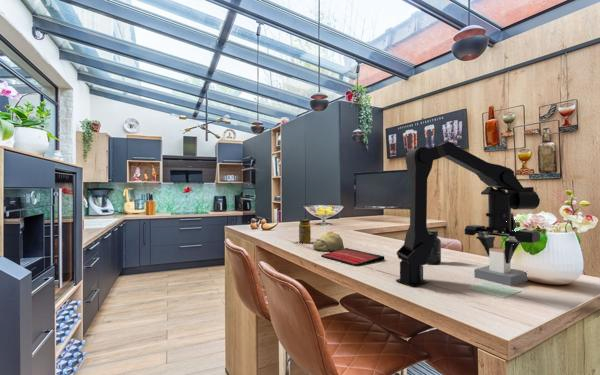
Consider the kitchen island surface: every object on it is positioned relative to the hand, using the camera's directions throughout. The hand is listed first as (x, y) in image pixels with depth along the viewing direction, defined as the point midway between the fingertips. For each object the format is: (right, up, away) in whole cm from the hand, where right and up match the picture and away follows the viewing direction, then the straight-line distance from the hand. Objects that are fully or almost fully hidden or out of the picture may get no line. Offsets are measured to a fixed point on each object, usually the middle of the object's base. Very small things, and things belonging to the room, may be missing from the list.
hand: (499, 261), depth 92 cm
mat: (-8, -6, -10) cm, 14 cm away
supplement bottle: (-11, -6, +23) cm, 26 cm away
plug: (0, -4, 0) cm, 4 cm away
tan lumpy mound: (-47, -7, +50) cm, 68 cm away
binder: (-40, -7, +31) cm, 51 cm away
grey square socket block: (0, -6, 0) cm, 6 cm away
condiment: (-58, -7, +67) cm, 89 cm away
